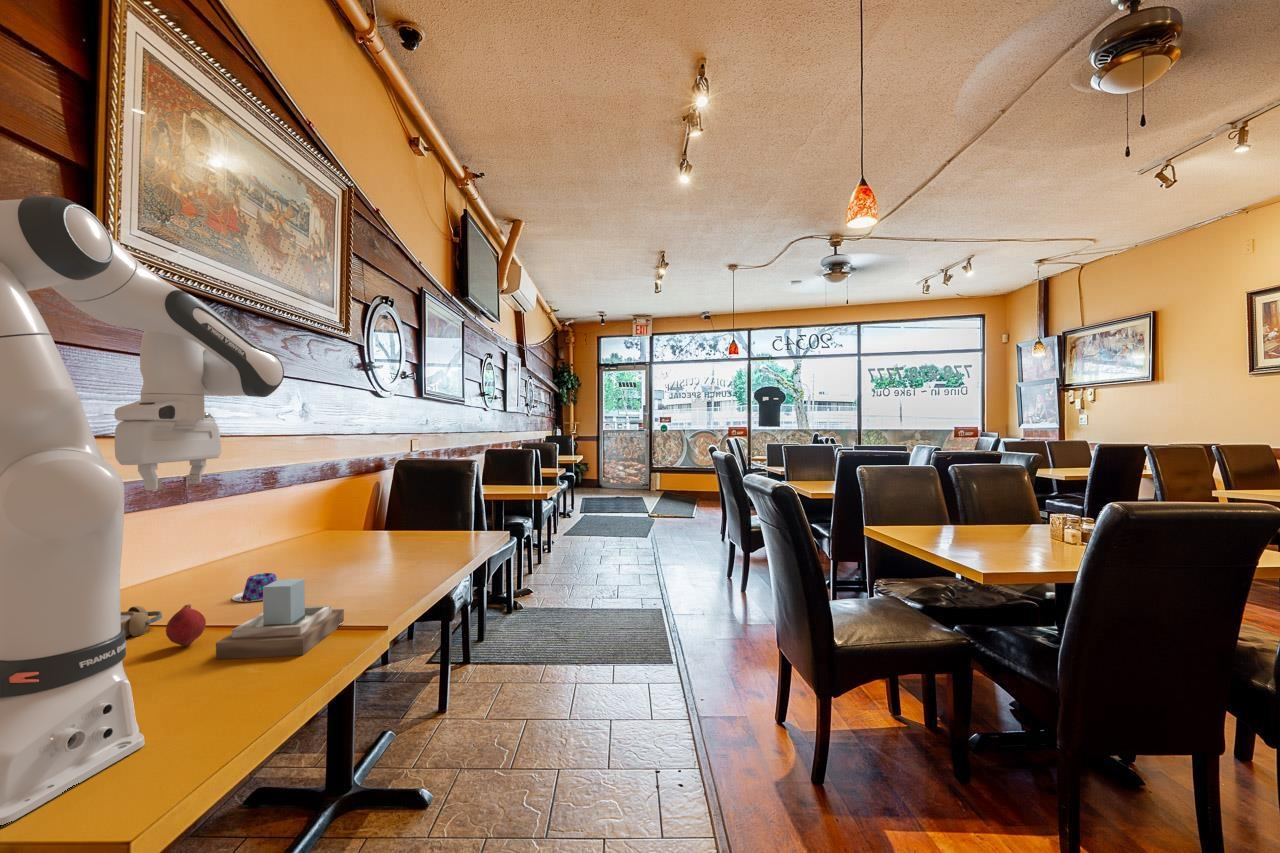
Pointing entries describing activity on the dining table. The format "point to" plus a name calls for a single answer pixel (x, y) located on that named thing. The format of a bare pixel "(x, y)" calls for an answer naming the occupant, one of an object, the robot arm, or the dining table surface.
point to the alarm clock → (138, 620)
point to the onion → (185, 626)
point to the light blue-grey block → (284, 602)
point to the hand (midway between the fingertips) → (174, 486)
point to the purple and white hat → (255, 587)
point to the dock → (280, 635)
